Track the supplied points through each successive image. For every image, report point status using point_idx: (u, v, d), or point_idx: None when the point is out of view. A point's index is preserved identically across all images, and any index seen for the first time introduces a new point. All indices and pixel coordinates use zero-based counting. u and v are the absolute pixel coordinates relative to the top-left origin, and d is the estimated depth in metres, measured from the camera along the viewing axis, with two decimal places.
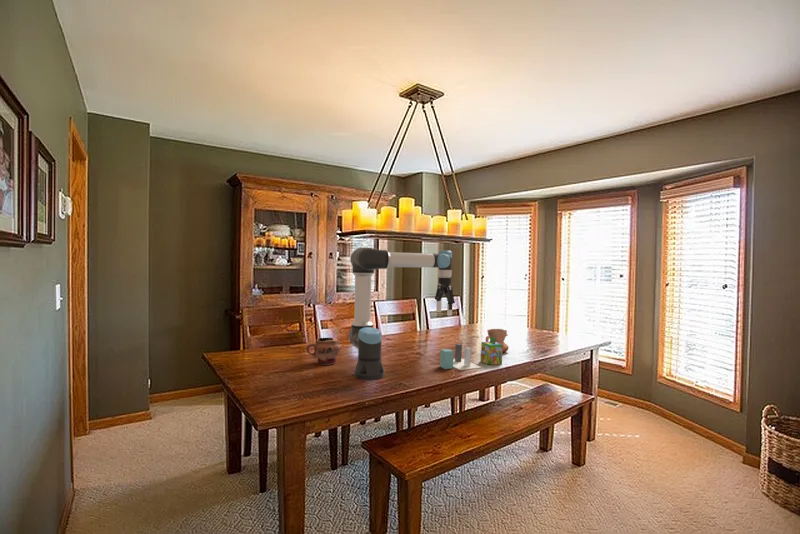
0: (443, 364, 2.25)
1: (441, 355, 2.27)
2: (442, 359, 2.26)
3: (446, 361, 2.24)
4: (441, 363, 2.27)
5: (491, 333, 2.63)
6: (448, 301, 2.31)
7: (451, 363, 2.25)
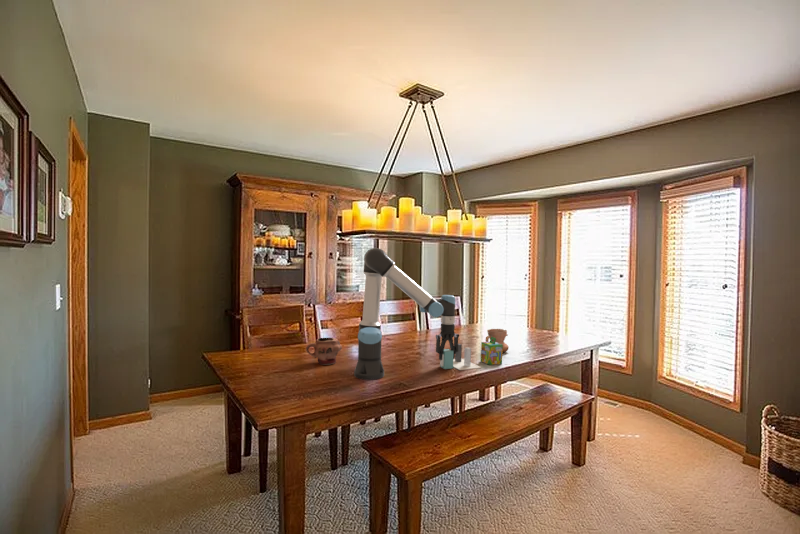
0: None
1: None
2: None
3: (446, 361, 2.24)
4: None
5: (491, 333, 2.63)
6: None
7: (451, 363, 2.25)
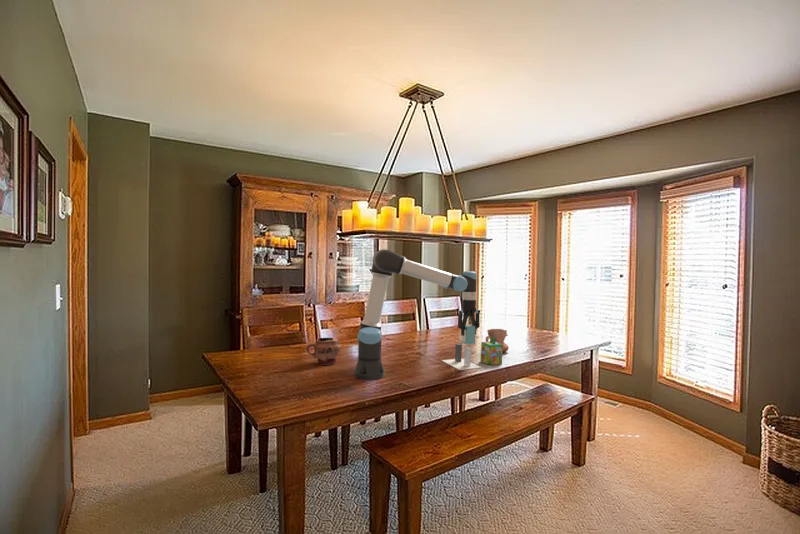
0: None
1: None
2: None
3: (468, 336, 2.26)
4: None
5: (491, 333, 2.63)
6: None
7: (473, 338, 2.27)
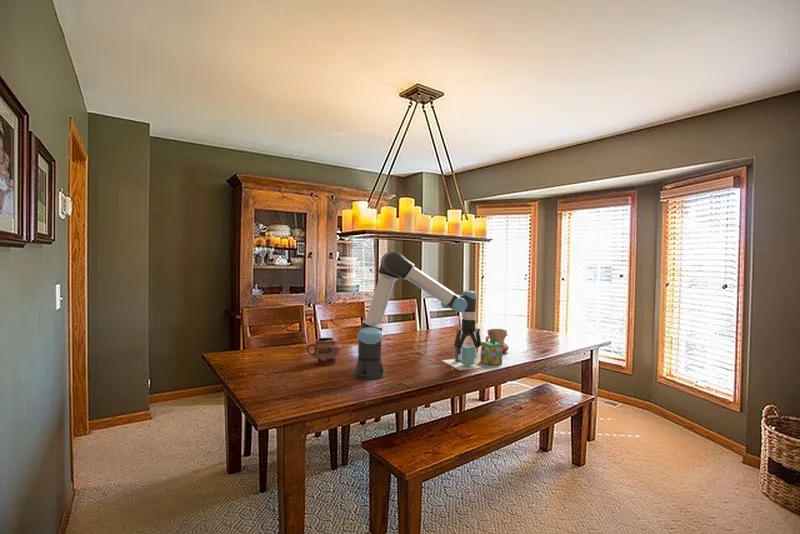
0: (464, 360, 2.27)
1: (462, 352, 2.30)
2: (463, 356, 2.29)
3: (467, 358, 2.26)
4: (462, 360, 2.30)
5: (491, 333, 2.63)
6: None
7: (472, 360, 2.28)
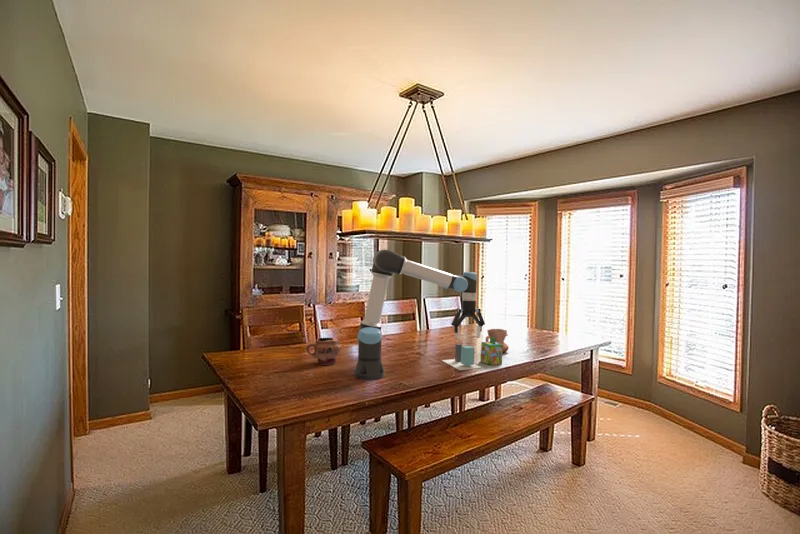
0: (464, 360, 2.27)
1: (462, 352, 2.30)
2: (463, 356, 2.29)
3: (467, 358, 2.26)
4: (462, 360, 2.30)
5: (491, 333, 2.63)
6: None
7: (472, 360, 2.28)
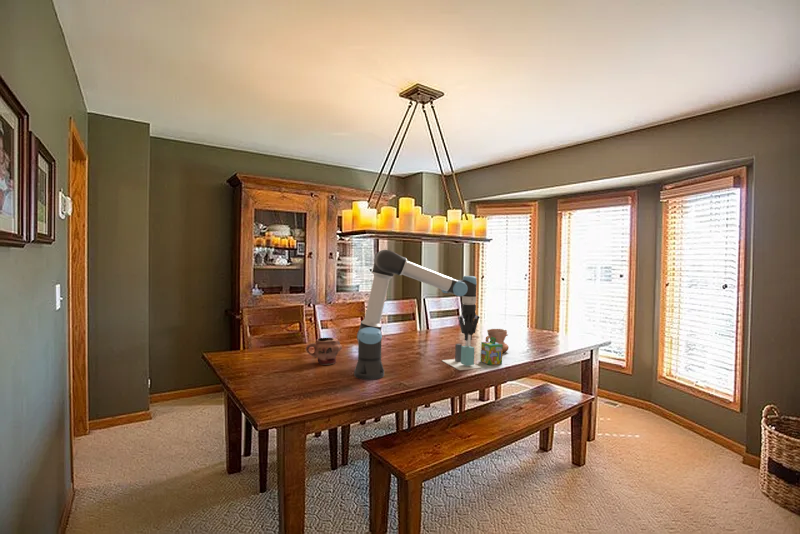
0: (464, 360, 2.27)
1: (462, 352, 2.30)
2: (463, 356, 2.29)
3: (467, 358, 2.26)
4: (462, 360, 2.30)
5: (491, 333, 2.63)
6: None
7: (472, 360, 2.28)
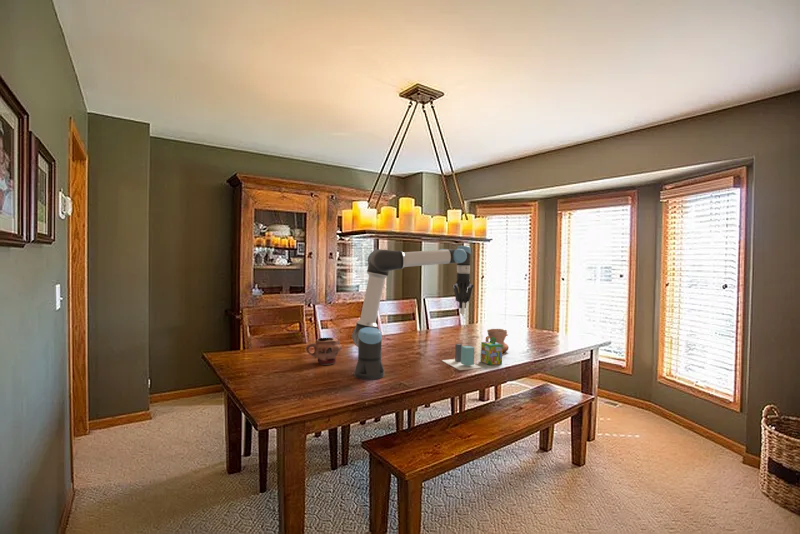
0: (464, 360, 2.27)
1: (462, 352, 2.30)
2: (463, 356, 2.29)
3: (467, 358, 2.26)
4: (462, 360, 2.30)
5: (491, 333, 2.63)
6: None
7: (472, 360, 2.28)
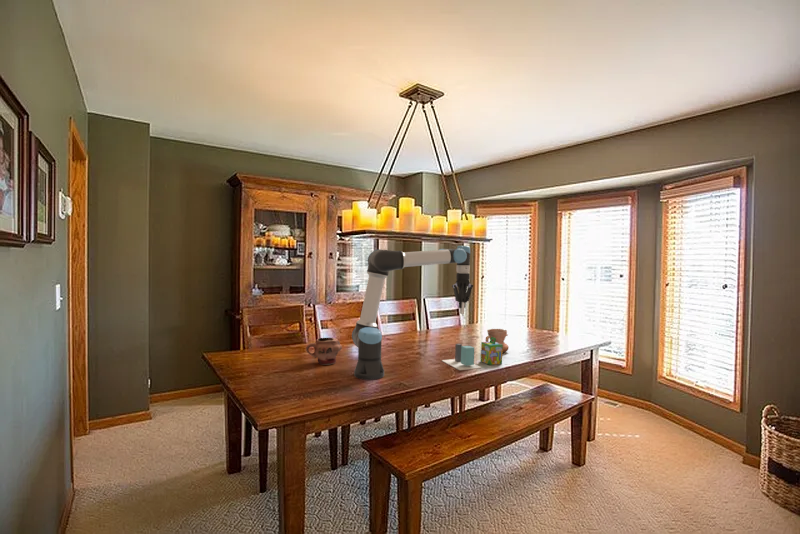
0: (464, 360, 2.27)
1: (462, 352, 2.30)
2: (463, 356, 2.29)
3: (467, 358, 2.26)
4: (462, 360, 2.30)
5: (491, 333, 2.63)
6: None
7: (472, 360, 2.28)
